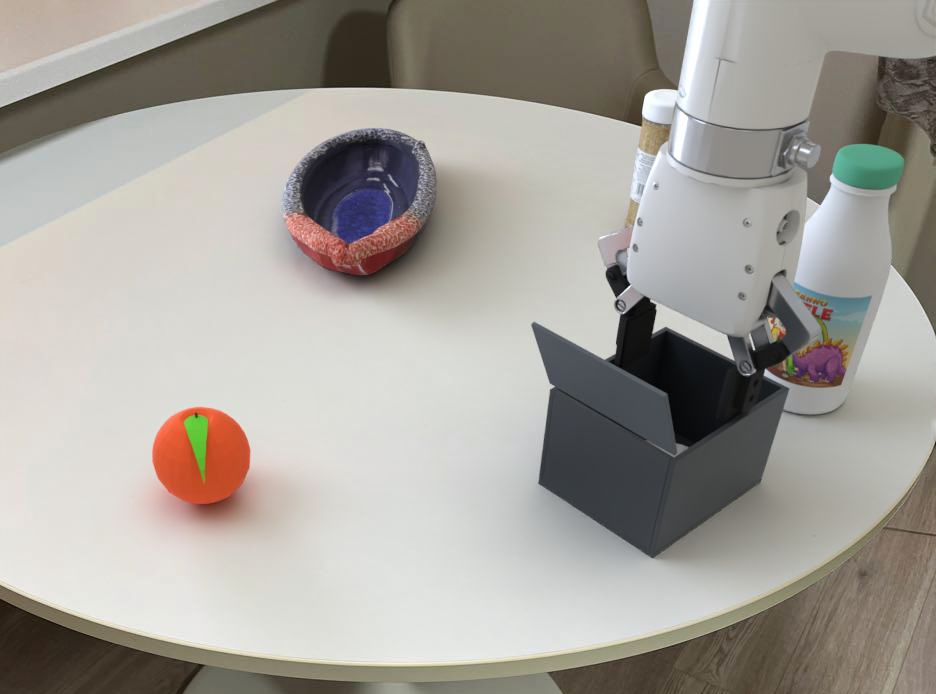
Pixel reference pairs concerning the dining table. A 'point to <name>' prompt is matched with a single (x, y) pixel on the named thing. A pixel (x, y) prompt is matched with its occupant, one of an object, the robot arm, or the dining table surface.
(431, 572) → the dining table surface
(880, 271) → the milk bottle
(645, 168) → the sprinkles bottle
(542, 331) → the flap
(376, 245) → the dish
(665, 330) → the bin
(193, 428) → the clementine
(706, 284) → the robot arm
